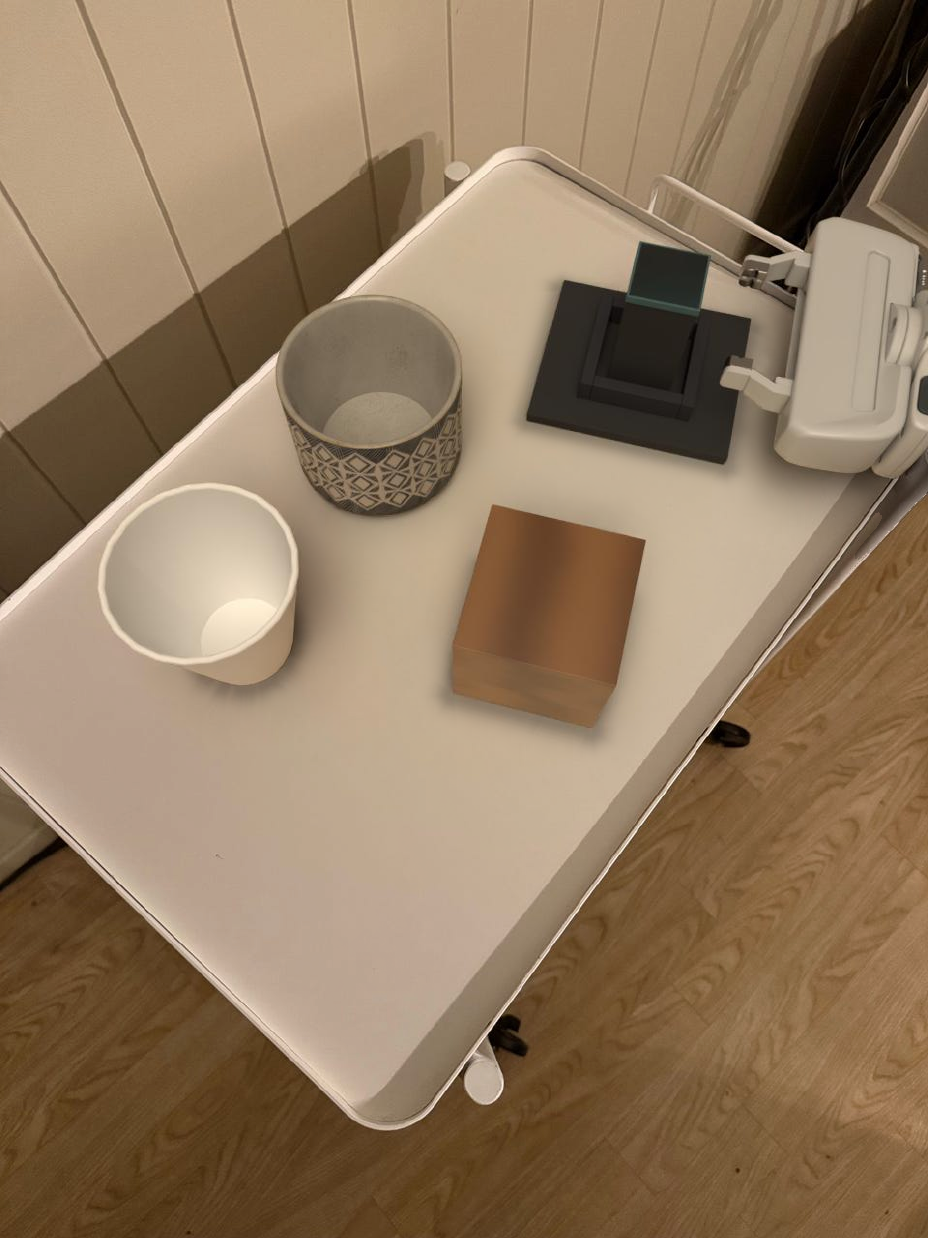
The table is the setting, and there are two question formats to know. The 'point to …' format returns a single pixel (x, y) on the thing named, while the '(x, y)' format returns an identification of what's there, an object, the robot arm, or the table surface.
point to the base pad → (631, 412)
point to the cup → (204, 582)
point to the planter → (373, 402)
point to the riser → (546, 616)
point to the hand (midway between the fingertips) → (732, 318)
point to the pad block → (658, 314)
